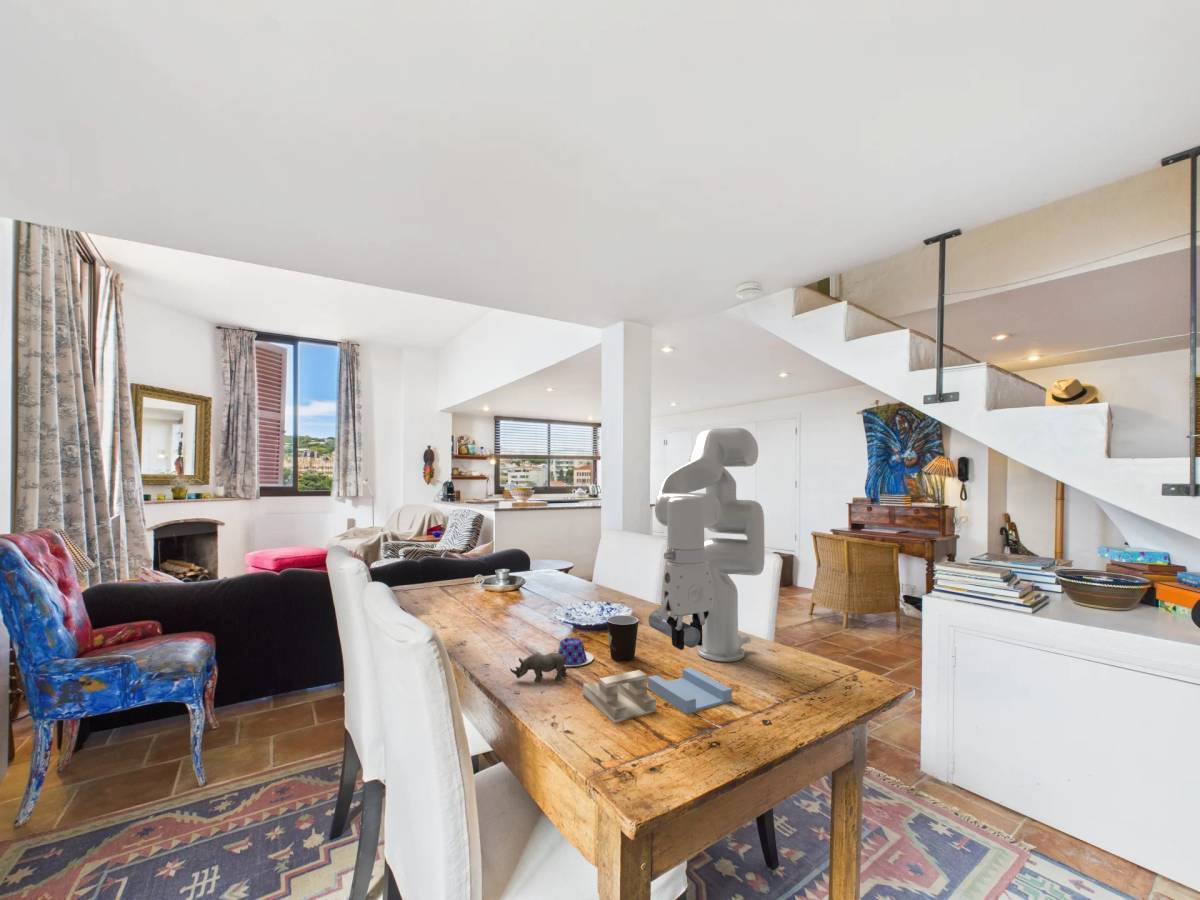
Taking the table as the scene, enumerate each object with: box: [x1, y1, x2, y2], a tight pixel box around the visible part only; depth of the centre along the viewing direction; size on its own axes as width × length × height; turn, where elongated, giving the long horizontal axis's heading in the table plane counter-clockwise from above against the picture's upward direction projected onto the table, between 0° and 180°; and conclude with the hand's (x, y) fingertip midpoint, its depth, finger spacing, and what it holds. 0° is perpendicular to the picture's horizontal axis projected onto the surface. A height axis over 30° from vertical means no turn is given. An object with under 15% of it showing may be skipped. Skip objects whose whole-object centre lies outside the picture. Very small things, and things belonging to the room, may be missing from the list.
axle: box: [647, 609, 700, 649], centre depth 107 cm, size 13×4×4 cm, turn 28°
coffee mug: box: [606, 614, 639, 663], centre depth 137 cm, size 12×9×10 cm
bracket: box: [582, 669, 657, 723], centre depth 108 cm, size 10×14×6 cm
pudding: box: [554, 637, 594, 667], centre depth 133 cm, size 12×12×5 cm
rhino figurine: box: [509, 652, 567, 683], centre depth 121 cm, size 4×14×6 cm, turn 102°
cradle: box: [647, 666, 733, 715], centre depth 112 cm, size 12×14×3 cm
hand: (687, 644), depth 102 cm, fingers closed on axle, 4 cm apart
